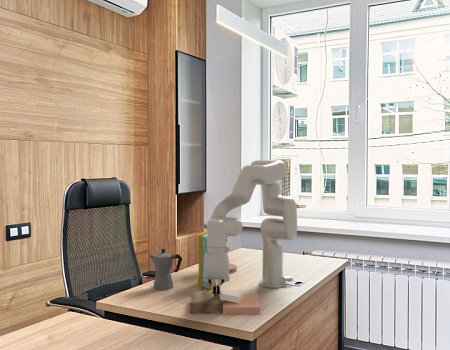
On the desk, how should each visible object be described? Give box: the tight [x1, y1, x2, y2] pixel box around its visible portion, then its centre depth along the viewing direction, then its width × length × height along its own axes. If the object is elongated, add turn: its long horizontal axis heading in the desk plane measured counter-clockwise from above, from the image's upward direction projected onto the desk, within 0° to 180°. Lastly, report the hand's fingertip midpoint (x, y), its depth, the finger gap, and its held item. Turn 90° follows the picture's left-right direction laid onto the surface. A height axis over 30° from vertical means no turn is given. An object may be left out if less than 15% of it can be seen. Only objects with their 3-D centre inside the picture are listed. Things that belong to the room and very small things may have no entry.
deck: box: [189, 290, 223, 315], centre depth 187 cm, size 12×16×4 cm
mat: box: [222, 294, 261, 315], centre depth 187 cm, size 14×16×2 cm
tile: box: [220, 288, 242, 303], centre depth 187 cm, size 8×6×2 cm
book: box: [197, 229, 218, 291], centre depth 220 cm, size 17×7×25 cm, turn 168°
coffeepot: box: [148, 248, 183, 291], centre depth 215 cm, size 15×9×18 cm, turn 85°
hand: (216, 295), depth 187 cm, fingers closed
